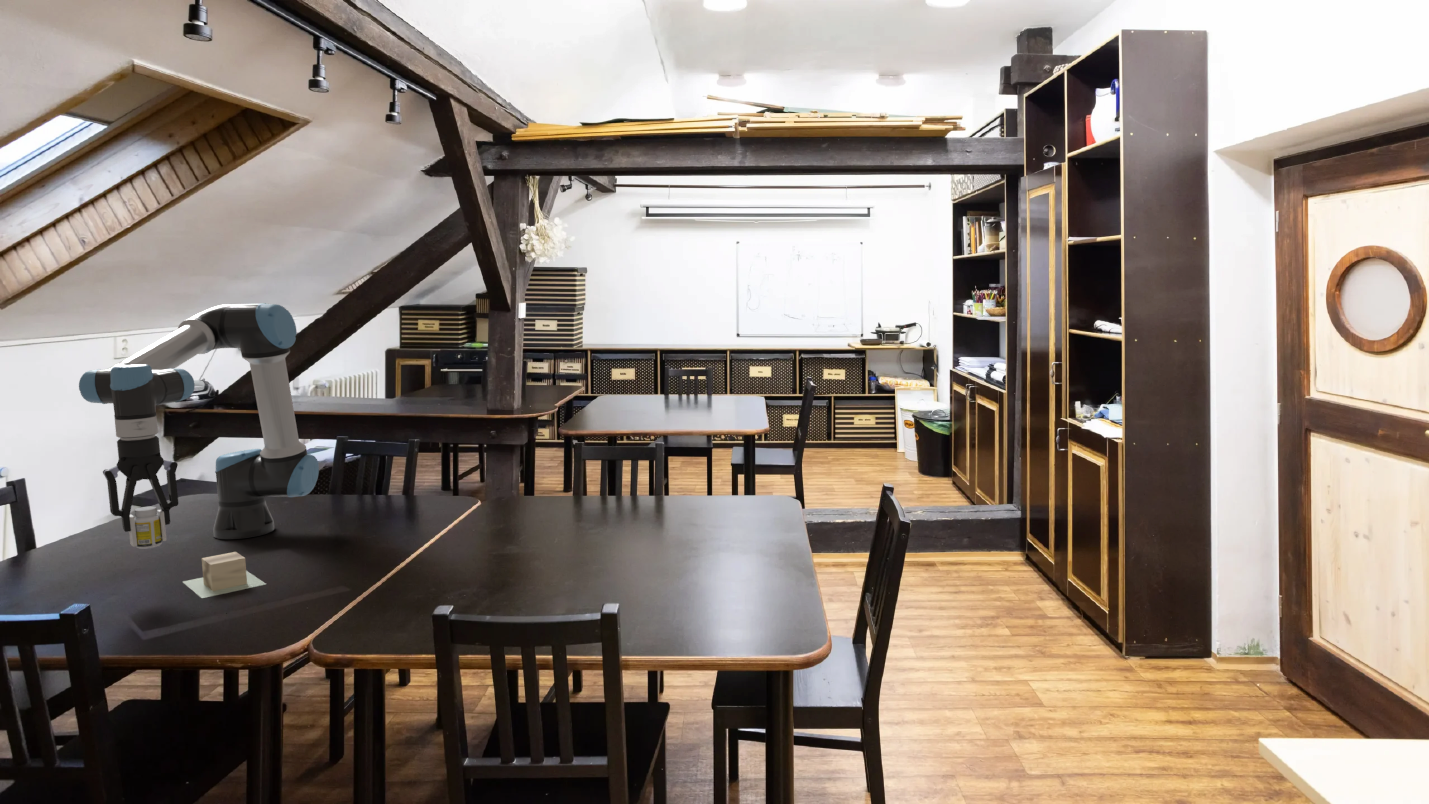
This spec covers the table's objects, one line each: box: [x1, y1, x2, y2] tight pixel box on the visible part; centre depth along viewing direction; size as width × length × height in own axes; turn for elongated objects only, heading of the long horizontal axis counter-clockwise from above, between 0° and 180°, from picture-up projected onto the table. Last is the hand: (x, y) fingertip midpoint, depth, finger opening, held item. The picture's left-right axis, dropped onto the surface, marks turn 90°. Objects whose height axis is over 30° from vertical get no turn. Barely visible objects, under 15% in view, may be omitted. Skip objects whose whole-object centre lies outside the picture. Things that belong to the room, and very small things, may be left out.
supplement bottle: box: [134, 505, 163, 550], centre depth 189 cm, size 5×5×8 cm
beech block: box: [201, 551, 247, 591], centre depth 196 cm, size 7×7×6 cm
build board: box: [182, 570, 267, 599], centre depth 198 cm, size 16×13×1 cm
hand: (148, 542), depth 189 cm, fingers closed on supplement bottle, 5 cm apart
